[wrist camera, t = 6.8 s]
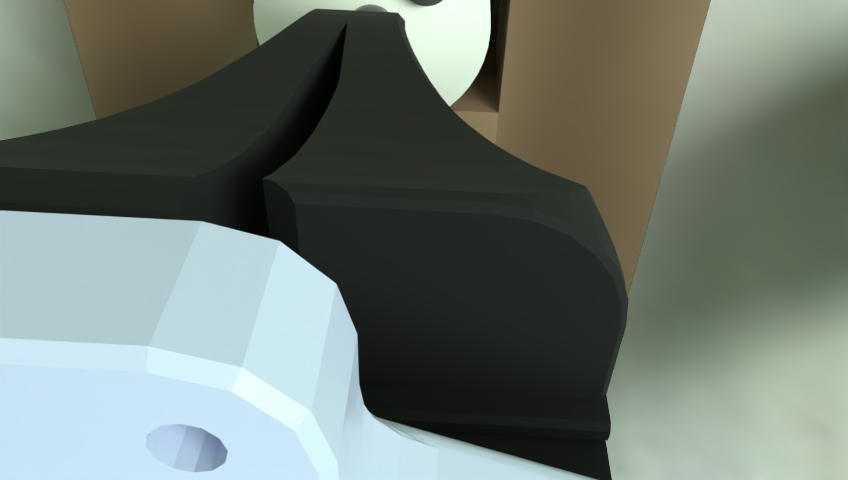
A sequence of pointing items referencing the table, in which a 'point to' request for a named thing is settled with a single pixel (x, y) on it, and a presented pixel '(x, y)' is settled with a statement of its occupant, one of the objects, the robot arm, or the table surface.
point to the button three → (409, 33)
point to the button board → (487, 95)
